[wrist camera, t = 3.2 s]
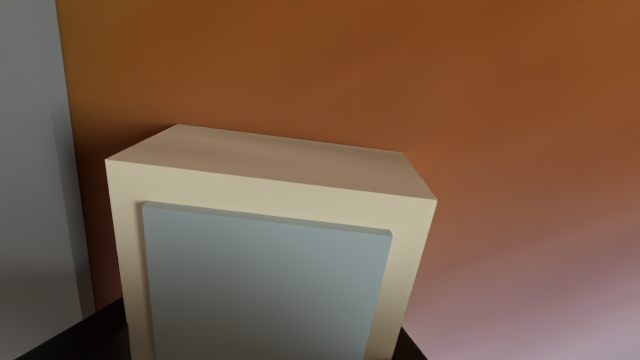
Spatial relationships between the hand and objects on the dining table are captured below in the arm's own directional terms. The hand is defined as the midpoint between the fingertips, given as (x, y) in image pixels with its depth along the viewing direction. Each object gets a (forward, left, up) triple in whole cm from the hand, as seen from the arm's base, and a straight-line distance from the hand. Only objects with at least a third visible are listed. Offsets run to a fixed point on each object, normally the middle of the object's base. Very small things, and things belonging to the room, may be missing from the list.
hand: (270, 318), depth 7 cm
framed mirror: (0, 0, -1) cm, 1 cm away
